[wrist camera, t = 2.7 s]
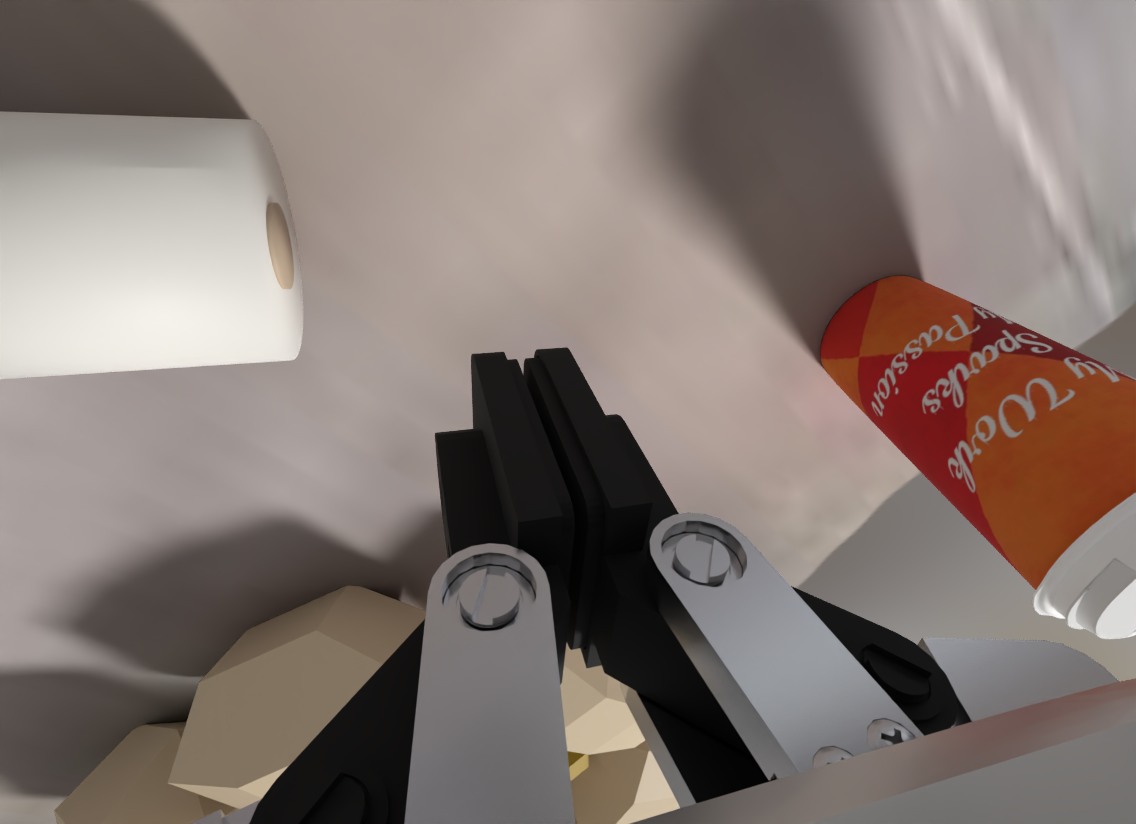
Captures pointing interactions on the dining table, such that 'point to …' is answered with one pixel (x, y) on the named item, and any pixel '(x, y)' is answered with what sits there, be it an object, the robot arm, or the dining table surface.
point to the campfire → (312, 699)
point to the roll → (143, 245)
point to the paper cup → (1004, 438)
